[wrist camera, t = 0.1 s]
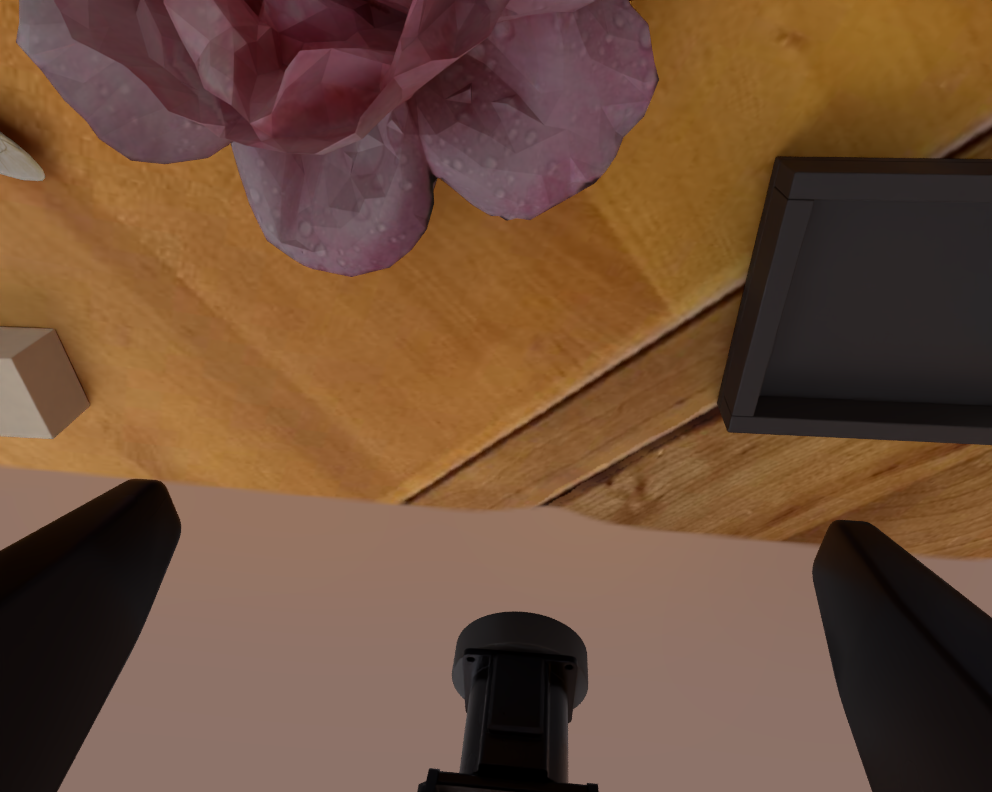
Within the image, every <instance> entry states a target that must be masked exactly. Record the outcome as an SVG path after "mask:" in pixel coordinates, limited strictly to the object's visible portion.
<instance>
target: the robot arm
mask: <svg viewBox="0 0 992 792" xmlns="http://www.w3.org/2000/svg"><path fill="white" fill-rule="evenodd" d="M180 533H181V522H180V519H179V516H178V514H177V511H176V509H175V507H174V504H173V502H172V499H171V497H170V495H169V492H168V490H167V488H166V486H165V485H164V484H163V483H162V482H161V481H158V480H147V479H131V480H128V481H126V482H124V483H122V484H120V485H118V486H116V487H115V488H113V489H111V490H109V491H108V492H106V493H104V494H102V495H100V496H98V497H97V498H95V499H93V500H91V501H89V502H87V503H86V504H84V505H82V506H80V507H79V508H77V509H75V510H73V511H71V512H69V513H68V514H66V515H64V516H62V517H60V518H59V519H57V520H55V521H53V522H52V523H50V524H48V525H46V526H44V527H42V528H40V529H39V530H37V531H36V532H33V533H31V534H30V535H28V536H26V537H24V538H23V539H21V540H19V541H17V542H15V543H14V544H12V545H10V546H8V547H6V548H4V549H3V550H1V551H0V792H57V791H58V789H59V787H60V785H61V784H62V782H63V779H64V778H65V776H66V774H67V772H68V770H69V769H70V767H71V765H72V763H73V761H74V759H75V757H76V755H77V753H78V751H79V750H80V748H81V746H82V744H83V742H84V740H85V738H86V737H87V735H88V733H89V731H90V729H91V727H92V725H93V723H94V721H95V719H96V718H97V716H98V714H99V712H100V710H101V708H102V706H103V705H104V703H105V701H106V699H107V697H108V695H109V693H110V691H111V689H112V688H113V686H114V684H115V682H116V680H117V678H118V676H119V674H120V672H121V671H122V669H123V667H124V665H125V663H126V661H127V659H128V657H129V656H130V654H131V652H132V650H133V648H134V646H135V643H136V641H137V640H138V637H139V635H140V633H141V631H142V628H143V626H144V624H145V622H146V619H147V617H148V614H149V612H150V610H151V607H152V605H153V602H154V600H155V597H156V595H157V592H158V590H159V588H160V585H161V583H162V580H163V578H164V575H165V573H166V570H167V568H168V566H169V563H170V561H171V558H172V556H173V553H174V551H175V548H176V546H177V543H178V541H179V538H180ZM812 574H813V582H814V587H815V591H816V596H817V600H818V605H819V609H820V613H821V618H822V622H823V626H824V631H825V636H826V640H827V644H828V649H829V653H830V658H831V662H832V667H833V671H834V675H835V679H836V683H837V687H838V691H839V695H840V698H841V701H842V704H843V708H844V711H845V714H846V717H847V720H848V723H849V726H850V728H851V731H852V734H853V737H854V740H855V743H856V746H857V749H858V752H859V755H860V758H861V760H862V763H863V766H864V769H865V772H866V775H867V778H868V781H869V784H870V787H871V789H872V792H992V618H991V617H990V616H989V615H987V614H986V613H985V612H984V611H982V610H981V609H980V608H979V607H977V606H976V605H975V604H973V603H972V602H971V601H969V600H968V599H967V598H966V597H965V596H963V595H962V594H961V593H959V592H958V591H957V590H955V589H954V588H953V587H952V586H950V585H949V584H948V583H947V582H945V581H944V580H943V579H942V578H940V577H939V576H938V575H936V574H935V573H934V572H933V571H931V570H930V569H929V568H927V567H926V566H924V564H922V563H921V562H920V561H919V560H917V559H916V558H915V557H913V556H912V555H911V554H910V553H908V552H907V551H906V550H904V549H903V548H902V547H901V546H899V545H898V544H897V543H895V542H894V541H893V540H892V539H890V538H889V537H888V536H887V535H885V534H884V533H883V532H881V531H880V530H879V529H878V528H876V527H875V526H873V525H872V524H870V523H868V522H864V521H850V520H836V521H834V522H832V523H831V524H830V526H829V527H828V529H827V532H826V534H825V536H824V539H823V541H822V543H821V546H820V548H819V550H818V553H817V555H816V558H815V560H814V563H813V571H812ZM462 662H463V677H464V692H465V708H466V713H467V719H466V726H465V734H464V742H463V750H462V757H461V765H460V772H459V773H453V772H443V771H440V769H432V768H430V769H429V772H428V776H427V780H426V782H423V783H421V784H419V786H418V792H598V784H593V783H587V785H581V784H570V783H568V723H569V722H571V720H572V712H573V704H574V695H575V687H576V678H577V670H578V661H577V659H576V658H575V657H573V656H569V655H556V654H543V653H530V652H517V651H505V650H492V649H479V648H467V649H465V650H464V652H463V658H462Z"/></svg>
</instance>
